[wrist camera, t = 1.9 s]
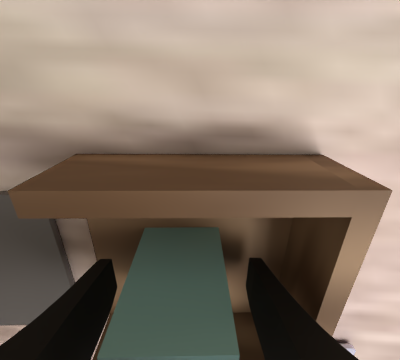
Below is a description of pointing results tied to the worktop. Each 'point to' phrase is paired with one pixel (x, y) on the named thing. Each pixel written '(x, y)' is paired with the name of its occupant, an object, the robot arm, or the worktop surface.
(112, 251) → the walnut box
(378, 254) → the worktop surface
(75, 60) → the worktop surface
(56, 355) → the robot arm
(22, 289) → the slate mat
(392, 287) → the worktop surface
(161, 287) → the block
